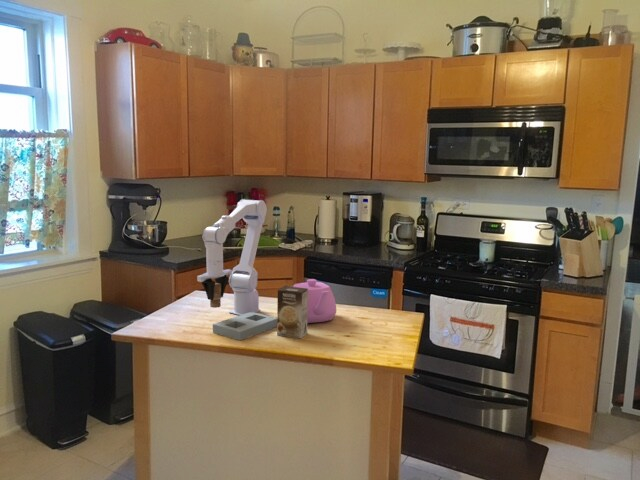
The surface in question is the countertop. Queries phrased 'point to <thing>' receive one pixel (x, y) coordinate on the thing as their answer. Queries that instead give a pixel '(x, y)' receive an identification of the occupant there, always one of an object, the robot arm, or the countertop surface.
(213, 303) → the walnut peg
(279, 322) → the coffee box
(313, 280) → the teapot
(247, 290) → the robot arm
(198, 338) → the countertop surface
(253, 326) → the grey board with holes
